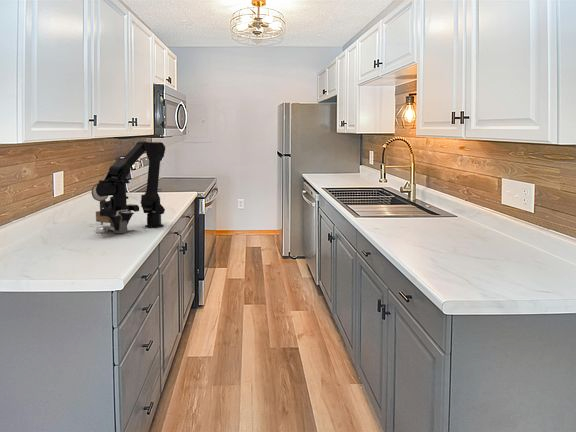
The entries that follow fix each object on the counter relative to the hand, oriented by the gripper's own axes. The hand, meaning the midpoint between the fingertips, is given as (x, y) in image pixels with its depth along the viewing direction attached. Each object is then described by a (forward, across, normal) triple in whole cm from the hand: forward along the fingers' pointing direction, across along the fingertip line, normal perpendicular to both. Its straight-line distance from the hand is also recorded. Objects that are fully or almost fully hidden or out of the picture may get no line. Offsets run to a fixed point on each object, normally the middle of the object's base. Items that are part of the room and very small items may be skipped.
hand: (120, 229), depth 237 cm
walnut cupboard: (+2, -6, -10) cm, 12 cm away
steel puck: (+2, +2, -9) cm, 9 cm away
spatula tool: (+1, -1, -5) cm, 5 cm away
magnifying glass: (+2, -13, -24) cm, 27 cm away
